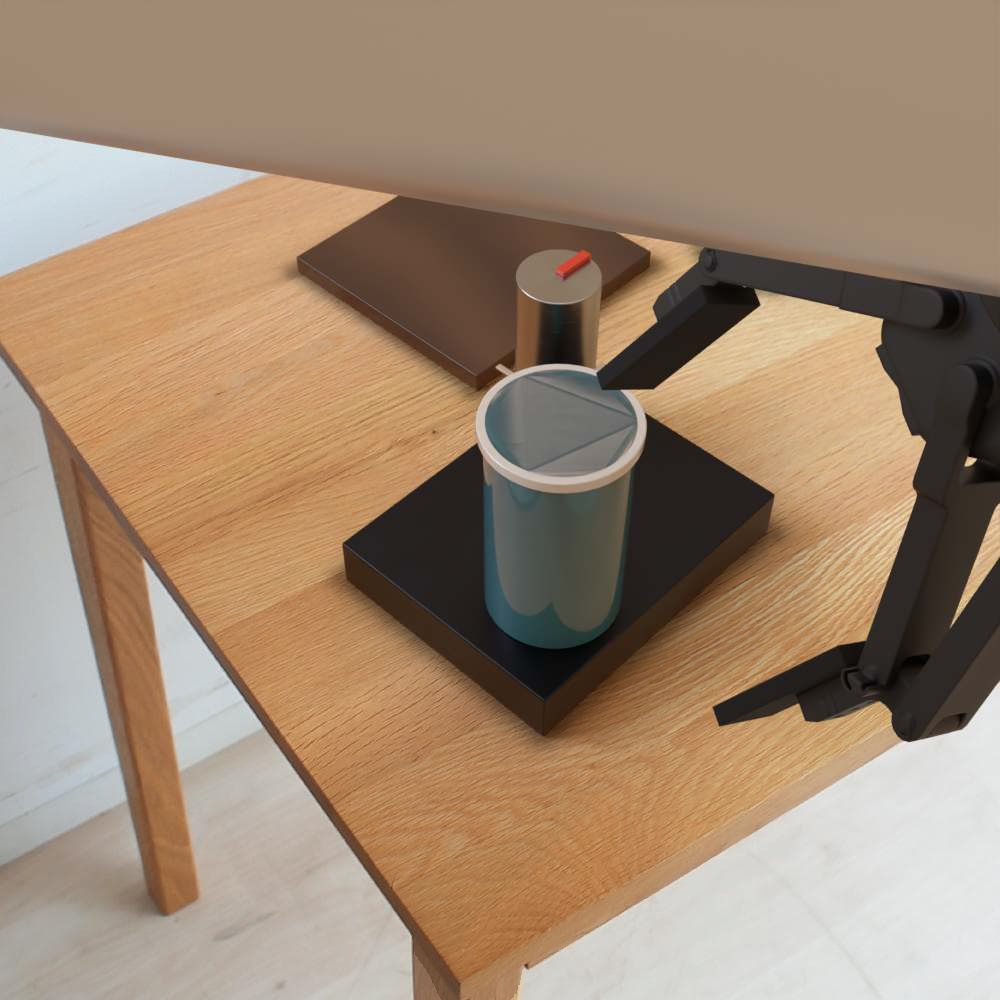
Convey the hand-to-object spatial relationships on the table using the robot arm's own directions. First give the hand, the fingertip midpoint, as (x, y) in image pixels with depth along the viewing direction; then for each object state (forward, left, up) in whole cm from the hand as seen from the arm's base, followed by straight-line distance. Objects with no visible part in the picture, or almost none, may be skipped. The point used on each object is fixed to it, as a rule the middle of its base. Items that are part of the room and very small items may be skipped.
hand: (680, 540), depth 55 cm
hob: (+8, +14, -17) cm, 24 cm away
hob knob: (+13, +18, -14) cm, 27 cm away
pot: (+4, +9, -14) cm, 17 cm away
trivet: (+22, +32, -17) cm, 42 cm away
